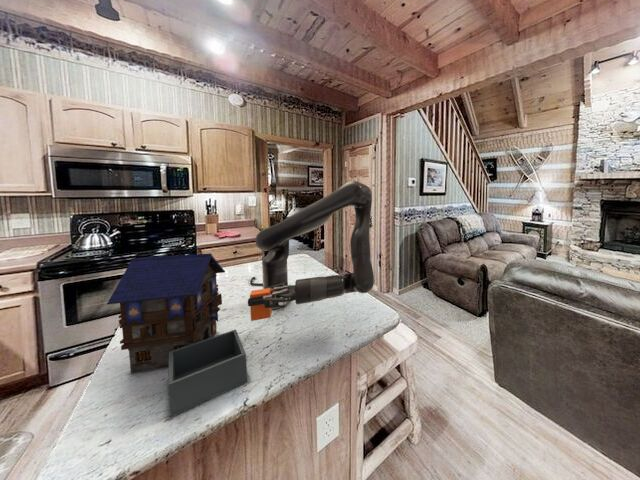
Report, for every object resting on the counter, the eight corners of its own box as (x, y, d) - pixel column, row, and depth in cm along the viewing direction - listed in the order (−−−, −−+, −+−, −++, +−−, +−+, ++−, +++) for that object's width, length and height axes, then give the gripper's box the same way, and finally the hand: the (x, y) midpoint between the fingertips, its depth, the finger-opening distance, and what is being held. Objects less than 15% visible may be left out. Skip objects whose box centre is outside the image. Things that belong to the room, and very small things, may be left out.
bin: (171, 379, 66) (168, 351, 66) (237, 353, 76) (235, 329, 76) (170, 417, 56) (168, 385, 55) (247, 381, 66) (245, 353, 65)
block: (252, 315, 76) (251, 290, 76) (271, 312, 78) (270, 287, 78) (251, 321, 73) (249, 295, 73) (270, 317, 75) (269, 292, 75)
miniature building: (207, 366, 71) (200, 263, 69) (110, 382, 65) (100, 270, 63) (233, 328, 89) (229, 245, 87) (160, 338, 83) (153, 249, 81)
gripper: (310, 271, 87) (252, 278, 80) (312, 287, 74) (243, 297, 67) (311, 291, 88) (253, 301, 81) (312, 311, 75) (245, 324, 68)
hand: (249, 299), depth 74 cm, fingers closed on block, 3 cm apart
